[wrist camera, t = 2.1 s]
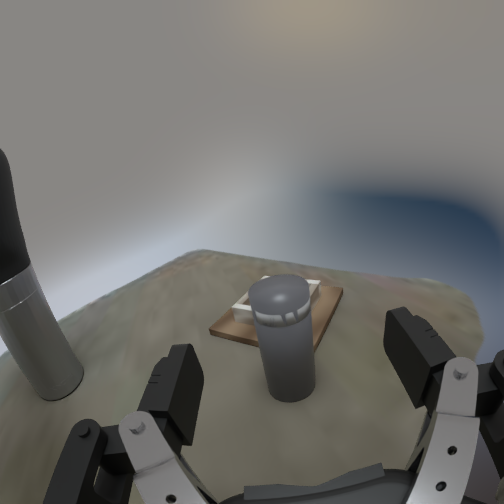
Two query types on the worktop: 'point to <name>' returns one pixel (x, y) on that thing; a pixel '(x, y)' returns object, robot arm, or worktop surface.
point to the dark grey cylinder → (284, 335)
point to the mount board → (242, 324)
